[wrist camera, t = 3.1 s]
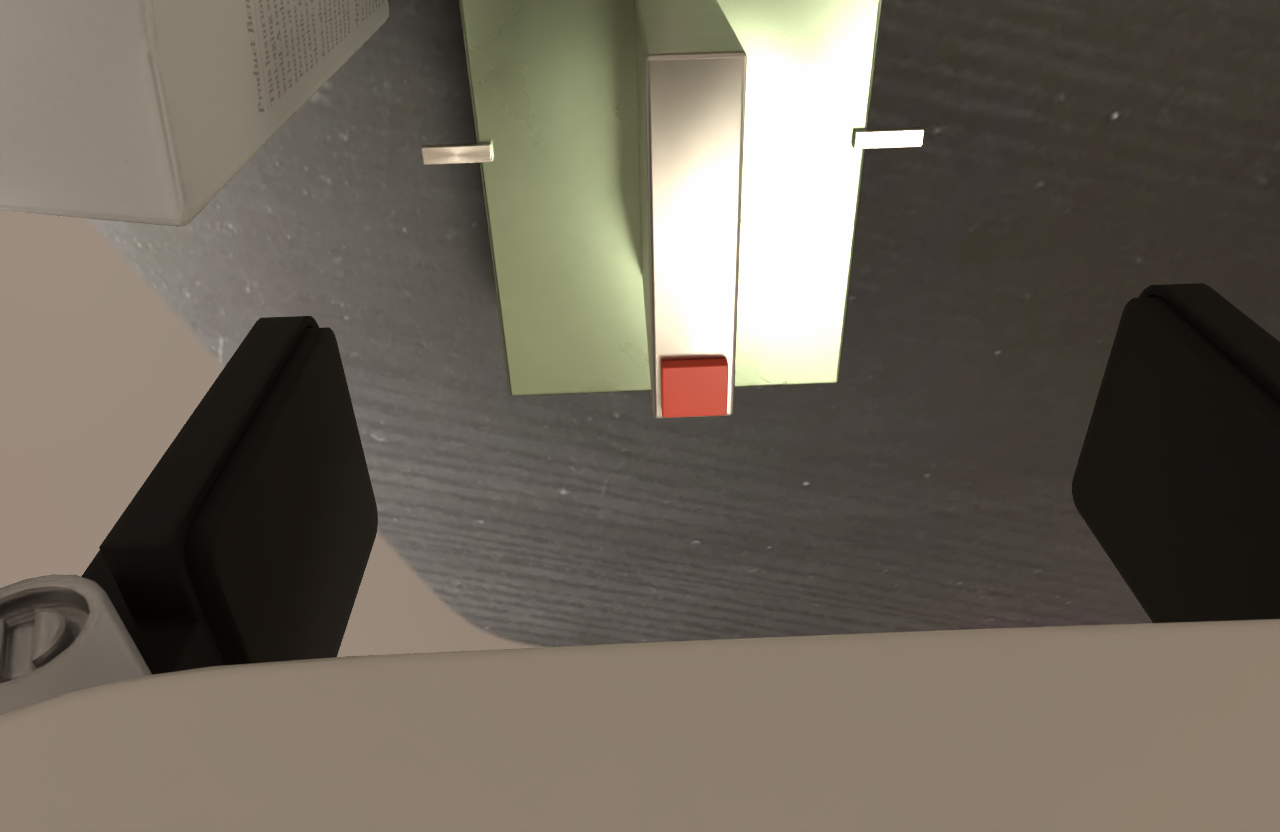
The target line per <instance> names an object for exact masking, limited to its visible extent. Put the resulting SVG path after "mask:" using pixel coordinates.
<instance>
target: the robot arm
mask: <svg viewBox="0 0 1280 832" xmlns="http://www.w3.org/2000/svg"><path fill="white" fill-rule="evenodd" d="M1072 494H1073V500H1074V503H1075V506H1076V508H1077V510H1078V511H1079V513H1080V514H1081V516H1082V517H1083V519H1084V520H1085V522H1086V523H1087V525H1088V526H1089V528H1090V529H1091V531H1092V532H1093V534H1094V535H1095V537H1096V538H1097V540H1098V541H1099V543H1100V544H1101V546H1102V547H1103V549H1104V550H1105V552H1106V553H1107V555H1108V556H1109V558H1110V559H1111V561H1112V562H1113V564H1114V565H1115V567H1116V568H1117V570H1118V571H1119V573H1120V574H1121V576H1122V577H1123V579H1124V580H1125V582H1126V583H1127V585H1128V586H1129V588H1130V589H1131V591H1132V592H1133V593H1134V595H1135V596H1136V598H1137V599H1138V601H1139V602H1140V604H1141V605H1142V607H1143V608H1144V610H1145V611H1146V613H1147V614H1148V616H1149V617H1150V619H1151V620H1152V622H1153V623H1141V624H1112V625H1084V626H1055V627H1027V628H999V629H972V630H946V631H919V632H893V633H868V634H844V635H820V636H796V637H772V638H748V639H724V640H700V641H677V642H654V643H631V644H609V645H588V646H566V647H545V648H524V649H503V650H481V651H460V652H437V653H414V654H391V655H369V656H347V657H337V654H338V651H339V648H340V645H341V642H342V639H343V635H344V633H345V630H346V626H347V623H348V620H349V617H350V614H351V611H352V608H353V605H354V602H355V599H356V596H357V593H358V590H359V586H360V583H361V580H362V577H363V574H364V571H365V568H366V565H367V562H368V559H369V556H370V552H371V550H372V546H373V543H374V540H375V537H376V533H377V525H378V515H377V507H376V502H375V498H374V493H373V489H372V485H371V481H370V477H369V473H368V469H367V465H366V460H365V456H364V452H363V448H362V444H361V440H360V436H359V431H358V427H357V423H356V419H355V415H354V411H353V407H352V403H351V398H350V394H349V390H348V386H347V382H346V378H345V374H344V369H343V365H342V361H341V357H340V353H339V349H338V345H337V341H336V338H335V335H334V333H333V331H332V330H331V329H330V328H319V326H318V324H317V322H316V321H315V319H314V318H313V317H311V316H298V317H271V318H260V319H259V320H258V321H257V322H256V323H255V325H254V326H253V327H252V329H251V330H250V332H249V333H248V335H247V336H246V338H245V339H244V340H243V342H242V343H241V345H240V346H239V348H238V349H237V350H236V352H235V353H234V355H233V356H232V358H231V359H230V360H229V362H228V363H227V365H226V366H225V368H224V369H223V371H222V372H221V373H220V375H219V376H218V378H217V379H216V381H215V382H214V384H213V385H212V387H211V388H210V389H209V391H208V392H207V393H206V395H205V396H204V398H203V399H202V401H201V402H200V404H199V405H198V406H197V408H196V409H195V411H194V412H193V414H192V415H191V416H190V418H189V419H188V421H187V422H186V424H185V425H184V427H183V428H182V429H181V431H180V432H179V434H178V435H177V437H176V438H175V440H174V441H173V442H172V444H171V445H170V447H169V448H168V449H167V451H166V452H165V454H164V455H163V457H162V458H161V460H160V461H159V462H158V464H157V465H156V467H155V468H154V470H153V471H152V472H151V474H150V475H149V477H148V478H147V480H146V481H145V482H144V484H143V485H142V487H141V488H140V490H139V491H138V493H137V494H136V495H135V497H134V498H133V500H132V501H131V503H130V504H129V505H128V507H127V509H126V510H125V511H124V513H123V514H122V515H121V517H120V518H119V520H118V521H117V523H116V524H115V526H114V527H113V529H112V530H111V531H110V533H109V534H108V536H107V537H106V539H105V540H104V541H103V543H102V544H101V546H100V547H99V548H100V551H99V552H98V554H97V555H96V556H95V558H94V559H93V561H92V562H91V564H90V565H89V566H88V568H87V569H86V571H85V572H84V574H83V575H82V577H80V576H77V575H47V576H42V577H37V578H30V579H25V580H22V581H19V582H17V583H14V584H11V585H8V586H5V587H2V588H0V832H1280V342H1279V341H1278V340H1276V339H1275V338H1274V337H1273V336H1271V335H1270V334H1269V333H1268V332H1266V331H1265V330H1264V329H1263V328H1261V327H1260V326H1259V325H1257V324H1256V323H1255V322H1254V321H1252V320H1251V319H1250V318H1249V317H1247V316H1246V315H1245V314H1244V313H1242V312H1241V311H1240V310H1238V309H1237V308H1236V307H1235V306H1233V305H1232V304H1231V303H1230V302H1228V301H1227V300H1226V299H1225V298H1223V297H1222V296H1221V295H1219V294H1218V293H1217V292H1216V291H1214V290H1213V289H1212V288H1211V287H1209V286H1207V285H1205V284H1203V283H1199V284H1172V285H1151V286H1149V287H1147V288H1146V289H1144V291H1143V292H1142V293H1141V295H1140V296H1139V298H1133V299H1131V300H1130V301H1129V302H1128V303H1127V305H1126V306H1125V308H1124V311H1123V313H1122V317H1121V320H1120V323H1119V327H1118V330H1117V333H1116V337H1115V340H1114V343H1113V347H1112V350H1111V353H1110V357H1109V360H1108V364H1107V367H1106V370H1105V374H1104V377H1103V380H1102V384H1101V387H1100V390H1099V394H1098V397H1097V400H1096V404H1095V407H1094V410H1093V414H1092V417H1091V420H1090V424H1089V427H1088V430H1087V434H1086V437H1085V440H1084V444H1083V447H1082V451H1081V454H1080V457H1079V461H1078V464H1077V467H1076V471H1075V474H1074V477H1073V482H1072Z"/></svg>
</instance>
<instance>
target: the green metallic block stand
mask: <svg viewBox="0 0 1280 832" xmlns="http://www.w3.org/2000/svg"><path fill="white" fill-rule="evenodd" d="M717 1H718V3H719V5H720V7H721V9H722V10H723V12H724V14H725V16H726V18H727V20H728V21H729V23H730V25H731V27H732V29H733V30H734V32H735V34H736V36H737V38H738V40H739V41H740V43H741V45H742V47H743V49H744V51H745V52H746V55H747V71H746V97H745V123H744V150H743V176H742V202H741V229H740V255H739V281H738V307H737V334H736V360H735V386H734V387H758V386H784V385H809V384H835V383H838V380H839V374H840V365H841V356H842V347H843V339H844V330H845V321H846V312H847V304H848V295H849V286H850V277H851V269H852V260H853V251H854V242H855V233H856V225H857V216H858V207H859V198H860V190H861V181H862V172H863V163H864V155H865V149H871V148H899V147H921V146H922V142H923V135H924V129H923V128H922V127H916V128H889V129H867V128H868V120H869V111H870V102H871V93H872V85H873V76H874V67H875V58H876V50H877V41H878V32H879V23H880V15H881V6H882V0H717ZM459 7H460V15H461V23H462V31H463V39H464V46H465V54H466V62H467V70H468V77H469V85H470V93H471V101H472V109H473V116H474V124H475V132H476V140H477V143H473V144H445V145H422V147H421V152H422V158H423V164H424V165H431V164H458V163H480V171H481V179H482V186H483V194H484V202H485V210H486V218H487V225H488V233H489V241H490V249H491V256H492V264H493V272H494V280H495V288H496V295H497V303H498V311H499V319H500V327H501V334H502V342H503V350H504V358H505V365H506V373H507V381H508V389H509V393H510V395H511V396H527V395H553V394H578V393H604V392H630V391H651V384H650V371H649V358H648V345H647V331H646V318H645V305H644V291H643V277H642V241H641V204H640V168H639V131H638V95H637V59H636V22H635V0H459Z"/></svg>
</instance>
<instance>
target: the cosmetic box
mask: <svg viewBox="0 0 1280 832" xmlns="http://www.w3.org/2000/svg"><path fill="white" fill-rule="evenodd" d="M388 17H389V3H388V0H0V210H3V211H14V212H25V213H36V214H47V215H57V216H68V217H78V218H90V219H101V220H112V221H123V222H134V223H145V224H156V225H166V226H186V225H187V224H189V223H190V222H191V221H192V220H193V219H194V218H195V217H196V216H197V215H198V214H199V213H200V212H201V210H202V209H203V208H204V207H205V206H206V205H207V204H208V203H209V202H210V201H211V200H212V198H213V197H214V196H215V195H216V194H217V193H218V192H219V191H220V190H221V189H222V188H223V187H224V186H225V185H226V184H227V183H228V182H229V181H230V180H231V178H232V177H233V176H235V175H236V174H237V173H238V172H239V171H240V170H241V168H242V167H243V166H244V165H245V164H246V163H247V162H248V161H249V160H250V159H251V158H252V157H253V156H254V155H255V154H256V153H257V152H258V151H259V150H260V149H261V148H262V147H263V146H264V145H265V144H266V143H267V142H268V141H269V139H270V138H271V137H272V136H273V135H274V134H275V133H276V132H277V131H278V130H279V129H280V128H281V127H282V126H283V125H284V124H285V123H286V122H287V121H288V120H289V119H290V118H291V117H292V116H293V115H294V114H295V113H296V112H297V111H298V110H299V109H300V108H301V107H302V106H303V105H304V104H305V103H306V102H307V101H308V100H309V99H310V98H311V97H312V96H313V95H314V94H315V93H316V92H317V91H318V90H319V89H320V88H321V87H322V86H323V85H324V84H325V83H326V82H327V81H328V80H329V79H330V78H331V77H332V76H333V75H334V74H335V73H336V72H337V71H338V70H339V69H340V68H341V67H342V66H343V65H344V64H345V63H346V62H347V61H348V60H349V59H350V57H351V56H352V55H353V54H354V53H355V52H356V51H357V50H359V49H360V48H361V46H362V45H363V44H364V43H365V42H366V41H367V40H368V39H369V38H370V37H371V36H372V35H373V34H374V33H375V32H376V31H377V30H378V29H379V28H380V27H381V26H382V25H383V24H384V23H385V22H386V21H387V19H388Z"/></svg>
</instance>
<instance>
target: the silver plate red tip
mask: <svg viewBox="0 0 1280 832" xmlns="http://www.w3.org/2000/svg"><path fill="white" fill-rule="evenodd" d="M635 22H636V59H637V95H638V131H639V168H640V204H641V241H642V277H643V291H644V305H645V318H646V331H647V345H648V358H649V371H650V384H651V398H652V411H653V416H654V417H655V418H680V417H705V416H730V415H732V413H733V411H734V386H735V360H736V334H737V307H738V281H739V255H740V229H741V202H742V176H743V150H744V123H745V97H746V71H747V55H746V52H745V51H744V49H743V47H742V45H741V43H740V41H739V40H738V38H737V36H736V34H735V32H734V30H733V29H732V27H731V25H730V23H729V21H728V20H727V18H726V16H725V14H724V12H723V10H722V9H721V7H720V5H719V3H718V1H717V0H635Z"/></svg>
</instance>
